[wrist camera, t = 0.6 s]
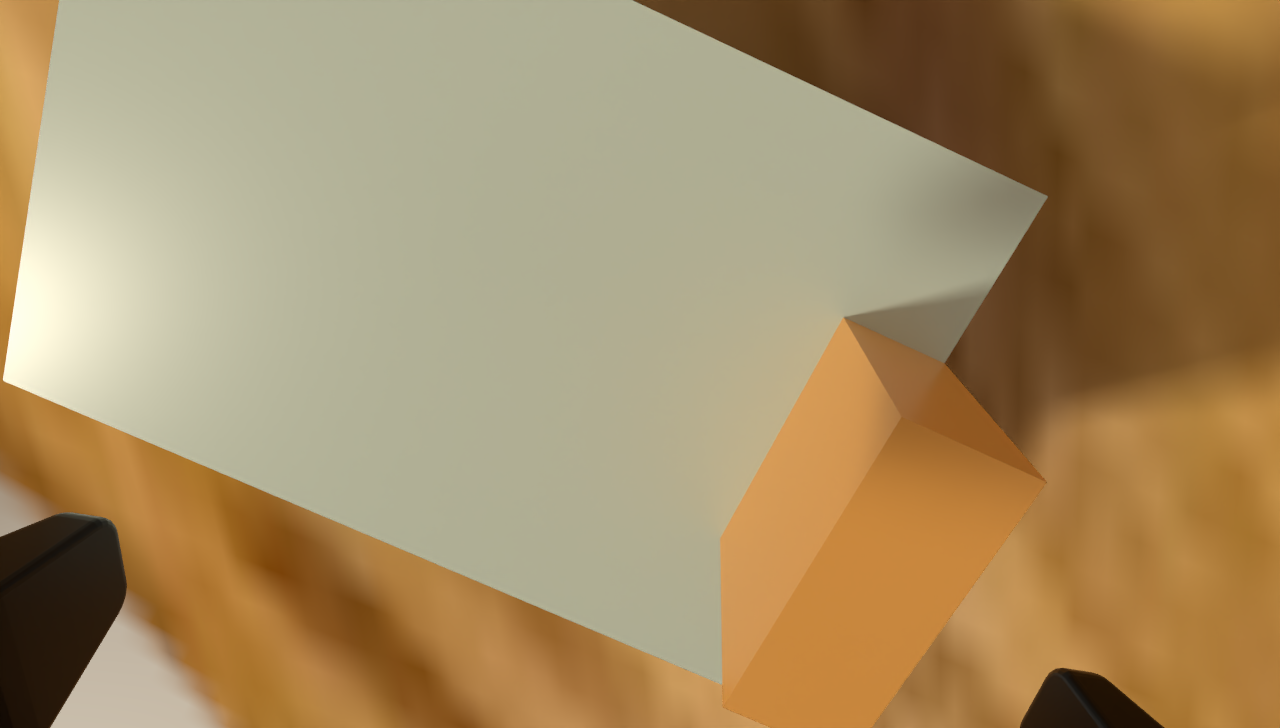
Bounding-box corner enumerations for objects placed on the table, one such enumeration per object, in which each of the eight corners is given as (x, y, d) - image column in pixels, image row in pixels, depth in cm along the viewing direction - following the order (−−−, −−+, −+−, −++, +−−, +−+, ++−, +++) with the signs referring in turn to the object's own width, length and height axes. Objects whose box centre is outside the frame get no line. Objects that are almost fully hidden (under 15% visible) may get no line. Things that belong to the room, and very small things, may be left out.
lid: (1008, 184, 14) (1214, 246, 8) (737, 636, 18) (749, 898, 12) (173, -210, 14) (-247, -449, 8) (72, 352, 17) (-261, 486, 11)
